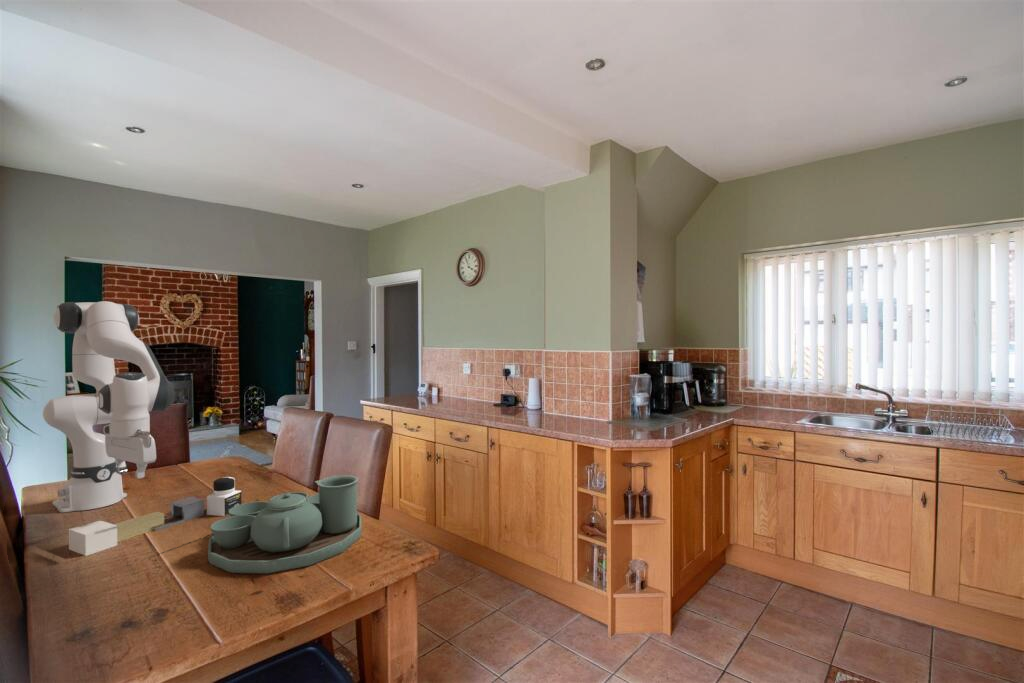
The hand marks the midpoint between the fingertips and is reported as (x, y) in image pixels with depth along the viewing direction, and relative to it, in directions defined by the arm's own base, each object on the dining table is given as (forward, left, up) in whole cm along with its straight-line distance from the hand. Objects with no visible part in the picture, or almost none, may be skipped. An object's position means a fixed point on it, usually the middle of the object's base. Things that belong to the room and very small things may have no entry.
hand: (131, 475), depth 138 cm
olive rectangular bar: (+1, -1, -17) cm, 17 cm away
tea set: (+45, +18, -19) cm, 51 cm away
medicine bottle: (+7, +23, -18) cm, 30 cm away
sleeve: (+1, +11, -18) cm, 21 cm away
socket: (+1, -10, -18) cm, 21 cm away
